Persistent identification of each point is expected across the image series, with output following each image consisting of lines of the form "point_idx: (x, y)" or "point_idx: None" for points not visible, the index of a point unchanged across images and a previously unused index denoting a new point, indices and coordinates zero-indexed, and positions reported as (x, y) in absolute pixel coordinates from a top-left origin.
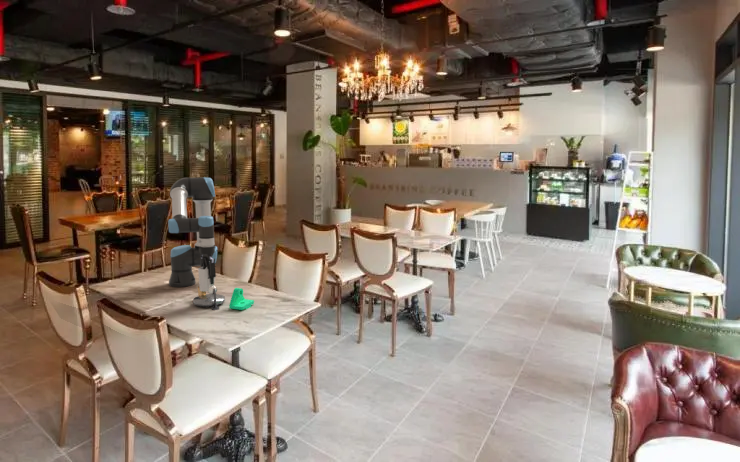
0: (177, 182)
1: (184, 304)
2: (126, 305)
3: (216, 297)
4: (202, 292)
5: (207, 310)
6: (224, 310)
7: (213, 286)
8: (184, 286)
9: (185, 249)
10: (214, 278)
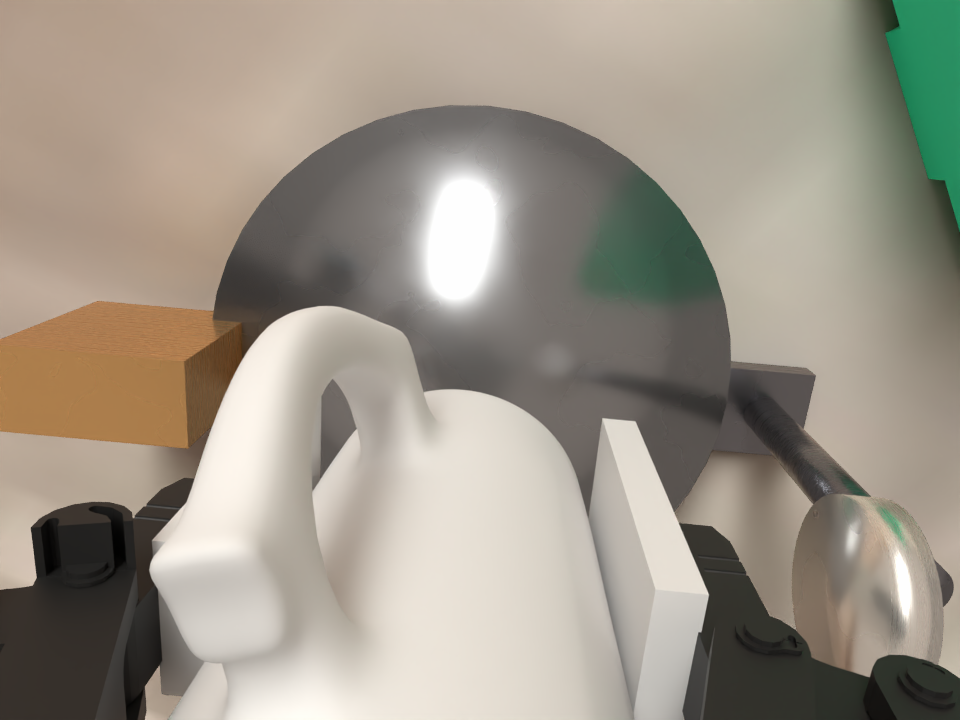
0: None
1: None
2: None
3: (505, 263)
4: (221, 400)
5: (720, 506)
6: (915, 345)
7: (939, 649)
8: None
9: None
10: (376, 350)
